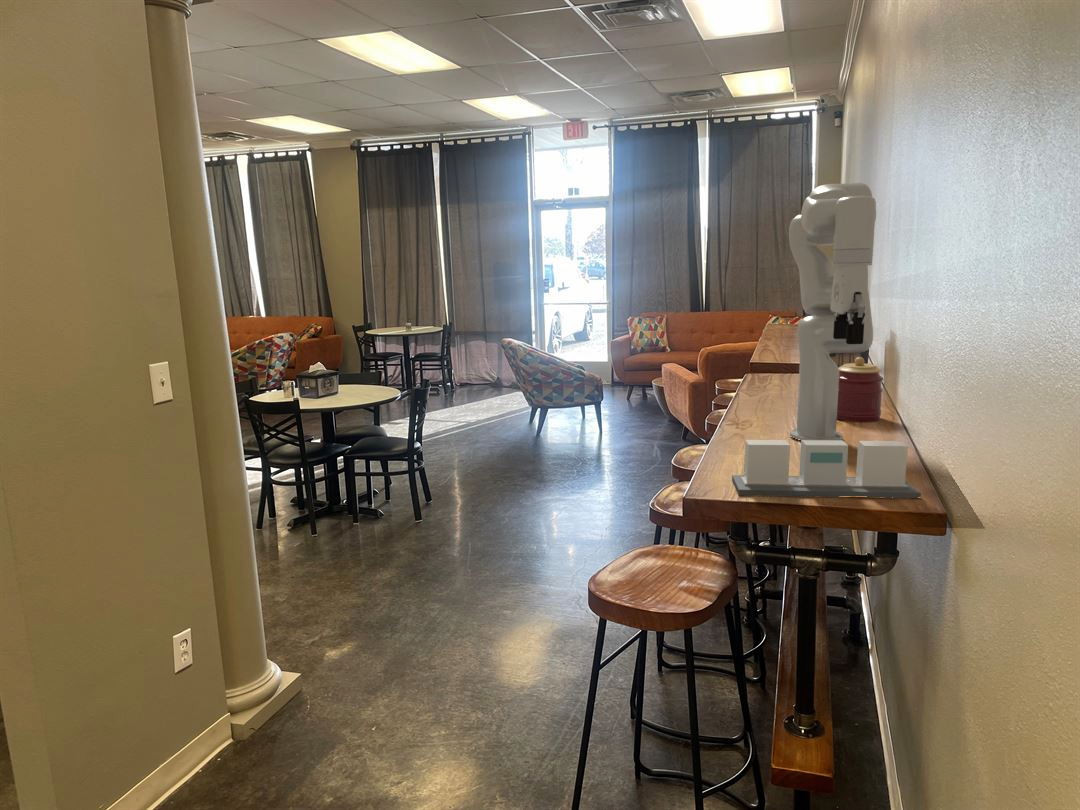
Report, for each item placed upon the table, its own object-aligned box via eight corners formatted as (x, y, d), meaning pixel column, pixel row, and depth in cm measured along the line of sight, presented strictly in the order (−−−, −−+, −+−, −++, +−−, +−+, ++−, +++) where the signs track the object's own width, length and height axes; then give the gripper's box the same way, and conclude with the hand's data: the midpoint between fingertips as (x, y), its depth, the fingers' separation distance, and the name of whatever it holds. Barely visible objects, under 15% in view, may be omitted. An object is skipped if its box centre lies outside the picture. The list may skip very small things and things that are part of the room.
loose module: (799, 478, 148) (801, 440, 147) (840, 478, 147) (842, 440, 146) (804, 484, 144) (806, 445, 143) (846, 484, 143) (848, 445, 142)
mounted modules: (744, 477, 150) (745, 439, 148) (897, 479, 146) (900, 441, 144) (747, 483, 146) (748, 444, 144) (904, 485, 142) (907, 446, 140)
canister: (875, 413, 214) (880, 354, 211) (885, 423, 202) (889, 360, 198) (828, 412, 217) (832, 354, 214) (835, 422, 205) (838, 359, 202)
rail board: (732, 480, 153) (732, 475, 153) (902, 483, 149) (902, 477, 149) (738, 495, 144) (738, 489, 143) (920, 498, 139) (921, 492, 139)
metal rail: (741, 478, 150) (741, 476, 150) (899, 481, 146) (899, 479, 146) (744, 485, 146) (744, 484, 145) (908, 488, 142) (908, 486, 141)
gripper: (822, 258, 159) (818, 337, 162) (845, 258, 142) (840, 346, 145) (858, 258, 158) (854, 337, 161) (885, 258, 141) (879, 346, 144)
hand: (847, 341), depth 153 cm, fingers open, 9 cm apart
